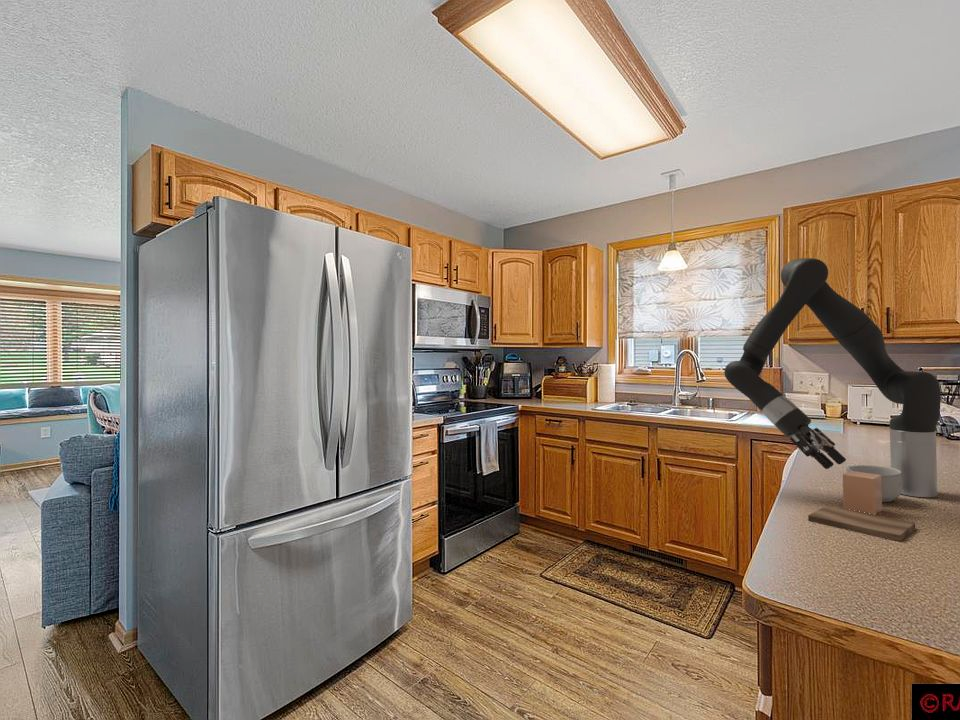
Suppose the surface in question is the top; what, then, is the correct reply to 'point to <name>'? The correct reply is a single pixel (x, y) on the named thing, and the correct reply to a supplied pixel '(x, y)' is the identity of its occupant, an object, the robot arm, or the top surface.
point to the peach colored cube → (862, 492)
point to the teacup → (883, 479)
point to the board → (863, 522)
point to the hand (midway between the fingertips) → (836, 464)
